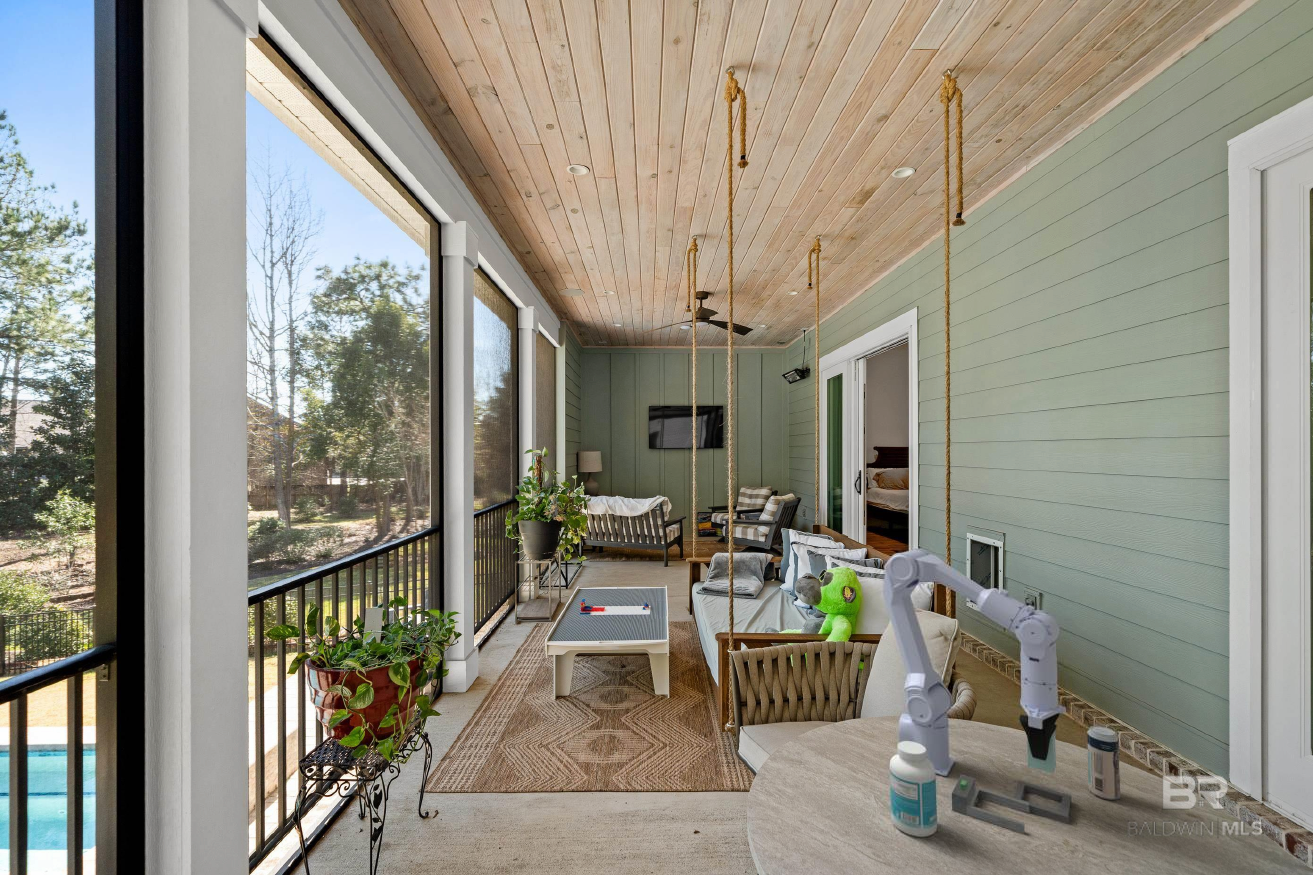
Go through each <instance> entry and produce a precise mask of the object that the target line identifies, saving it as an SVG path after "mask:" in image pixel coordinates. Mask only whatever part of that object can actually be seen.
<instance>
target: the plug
mask: <svg viewBox="0 0 1313 875" xmlns="http://www.w3.org/2000/svg"><path fill="white" fill-rule="evenodd" d="M1026 739H1027V740H1026V741H1027V743H1026V744H1027V767H1029V768H1032V769H1036V770H1040V771H1043V772H1046V773H1050V774H1054V773H1055V771H1056V765H1057V760H1056V759H1057V755H1056V754H1057V753H1056V749H1057V748H1056V731H1054V733H1053V734H1052V736H1051V739H1050V743H1049V749H1048V755H1047V758H1046V761H1044V760H1040V759H1036V758H1033V757H1032V754H1031V751H1030V747H1029V742H1028V738H1026Z"/></svg>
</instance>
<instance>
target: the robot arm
mask: <svg viewBox="0 0 1313 875" xmlns="http://www.w3.org/2000/svg"><path fill="white" fill-rule="evenodd" d="M883 568H884V572H885V574H884V577H883V578H884V579H883V583H882V584H883V585H882V590H881V591H882V596H883V598H884V602H885V606H886V610H887V612H888V616H889V619H890V622H891V626H892V628H893V632H894V636H895V638H896V642H897V645H898V649H899V652H900V656H901V658H902V663H903V665H904V669H905V671H906V679H905V683H904V688H903V689H904V692H905V710H906V712H907V713H905V712H904V713H902V714H901V715H900V717H899V721H898V732H897V733H898V736H897V737H898V743H900V742H903V741H911V742H916V743H919V744H921V745H923V746H924V747H925V748H926V754H927V757H926V759H928V760H929V761H930V762H931V763H932V764H933V766H934V768H935V773H936V774H937V775H940V776H944V777H947V776H948V775H949V773H950V772H951V769H952V767H953V766H954V764H955V762H956V761H955V760H956V759H955V758H953V757H951V756H950V741H949V740H950V735H949V734H950V733H949V727H950V726H949V718H948V712H949V711H950V710H951V708H953V707H952V706H953V697H952V694H951V692H950V690H949V689H948V688H947V687H946V686H945V684H944V682H943V678H942V676H941V675H940V674H939V673H938V672H937V671H935V669H934V668H933V665H932V662H931V658H930V655H929V652H928V648H927V645H926V643H925V639H924V636H923V632H922V630H921V625H920V623H919V619H918V616H917V614H916V610H915V606H914V604H913V601H912V598H911V594H912V593H913V592H914V590H915V588H916V587H917V586H918V585H919V584H920V583H938V584H941V585H942V586H945V587H947V588H949V589H950V590H952V591H954V592H956V593H957V594H959V595H961V596H963V597H965V598H967V599H968V600H970V601H972V602H974V603H976V606H977V608H978V610H979V613H980V614H982V615H984V616H985V617H987V618H989V619H990V620H992V621H993V622H994V623H997V624H998V625H999V626H1002V627H1003V628H1005V629H1006V630H1008V631H1010V632H1011V633H1014V634H1015V637H1016V639H1017V640H1018V641H1019V642H1020V652H1019V653H1020V685H1021V686H1020V694H1021V697H1020V699H1019V703H1020V706H1021V707H1022V709H1023V710H1024V712H1025V715H1024V714H1020V716H1019V723H1020V725H1021V727H1022V728H1023V730H1024V732H1025V735H1026V737H1027V738H1028V742H1029V747H1030V751H1031V754H1032V757H1033V758H1036V759H1040V760H1044V761H1046V758H1047V755H1048V749H1049V743H1050V739H1051V736H1052V734H1053V733H1054V732H1056V729H1057V727H1058V725H1057V724H1056V722H1057V720H1058V719H1059V717H1060V714H1062V715H1064V714H1066V713H1067V712H1066V711H1067V708H1066V706H1063V705H1059V698H1058V697H1059V696H1058V691H1059V690H1058V658H1057V656H1058V655H1057V645H1056V644H1057V643H1056V642H1055V641H1056V640H1057V639H1058V636H1059V634H1060V631H1061V630H1060V625H1059V623H1058V621H1057V620H1056V618H1055V617H1054V616H1052V615H1051V614H1049V613H1048V612H1047V611H1046V610H1037V609H1036V608H1035V607H1034V606H1032V605H1031V604H1029V605H1026V604H1025V603H1022V602H1021V601H1019V600H1017V599H1015V598H1014V597H1012V596H1010V591H1008V590H1006V589H1004V588H1002V589H998V588H996V587H995V588H989V589H988V588H987V589H986V588H984V587H983V586H982V585H980V584H978V583H977V582H975V580H972V579H970V578H969V577H968V576H966V575H964V574H963V573H961V572H959V571H958V570H957V569H955V568H953V567H952V566H950V565H949V564H947V563H946V562H944V561H943V560H941V558H939V557H938V556H936V555H934V554H932V553H931V554H930V553H929V552H928V551H926V550H924V549H923V548H913V549H911V550H908V551H904V552H898V553H894V554H893V555H892V556H891V557H889V559H888V560H887V562H886V563H885V565H883ZM1035 609H1036V610H1035ZM1027 738H1026V739H1027Z"/></svg>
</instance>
